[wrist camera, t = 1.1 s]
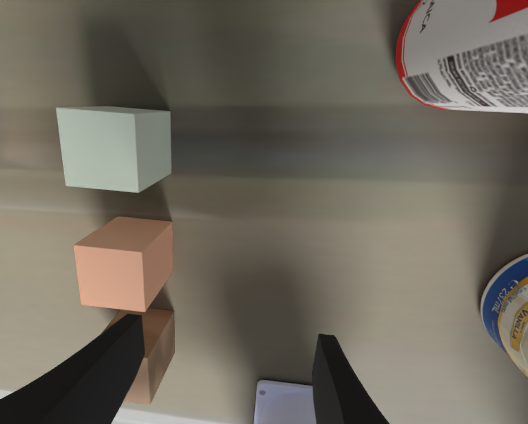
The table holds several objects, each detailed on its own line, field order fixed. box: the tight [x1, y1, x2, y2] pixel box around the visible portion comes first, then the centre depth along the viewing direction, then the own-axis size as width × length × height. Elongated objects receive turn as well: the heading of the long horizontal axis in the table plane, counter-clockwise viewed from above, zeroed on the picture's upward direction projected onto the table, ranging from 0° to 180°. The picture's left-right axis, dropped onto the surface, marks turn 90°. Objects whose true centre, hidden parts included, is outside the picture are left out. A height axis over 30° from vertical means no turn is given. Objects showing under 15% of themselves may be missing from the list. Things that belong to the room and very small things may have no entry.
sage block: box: [56, 106, 171, 193], centre depth 19 cm, size 4×4×5 cm
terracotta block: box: [74, 216, 173, 312], centre depth 21 cm, size 4×4×5 cm
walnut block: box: [101, 308, 175, 405], centre depth 24 cm, size 4×4×5 cm
